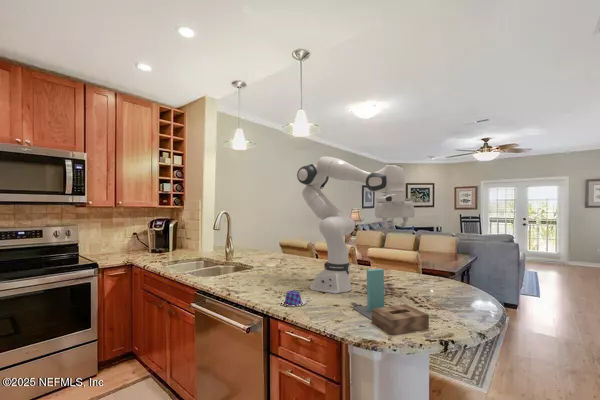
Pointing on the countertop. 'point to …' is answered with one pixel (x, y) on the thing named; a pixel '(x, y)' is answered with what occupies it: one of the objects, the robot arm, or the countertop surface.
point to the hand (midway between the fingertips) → (395, 227)
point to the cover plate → (375, 289)
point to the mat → (364, 311)
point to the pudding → (293, 298)
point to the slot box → (400, 319)
